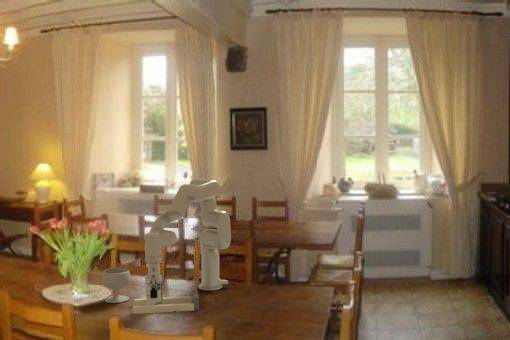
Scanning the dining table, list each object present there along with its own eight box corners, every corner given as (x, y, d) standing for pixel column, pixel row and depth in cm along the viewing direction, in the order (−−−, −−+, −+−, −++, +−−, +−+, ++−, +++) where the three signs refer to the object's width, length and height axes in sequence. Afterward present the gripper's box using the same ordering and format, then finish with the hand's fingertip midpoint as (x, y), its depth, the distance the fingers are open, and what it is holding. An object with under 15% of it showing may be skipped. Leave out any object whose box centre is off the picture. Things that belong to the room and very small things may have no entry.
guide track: (197, 301, 275) (197, 289, 274) (198, 310, 262) (198, 297, 262) (134, 305, 270) (134, 292, 269) (132, 313, 257) (132, 301, 257)
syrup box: (153, 307, 261) (153, 277, 260) (145, 305, 265) (144, 275, 263) (162, 304, 266) (162, 274, 264) (154, 302, 269) (153, 272, 268)
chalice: (123, 305, 269) (123, 274, 268) (97, 303, 272) (96, 273, 271) (135, 296, 283) (135, 267, 282) (110, 295, 286) (109, 266, 285)
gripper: (161, 262, 255) (161, 300, 257) (161, 254, 272) (162, 289, 274) (144, 263, 254) (145, 301, 256) (145, 254, 271) (146, 290, 273)
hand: (154, 294), depth 265 cm, fingers closed on syrup box, 7 cm apart
